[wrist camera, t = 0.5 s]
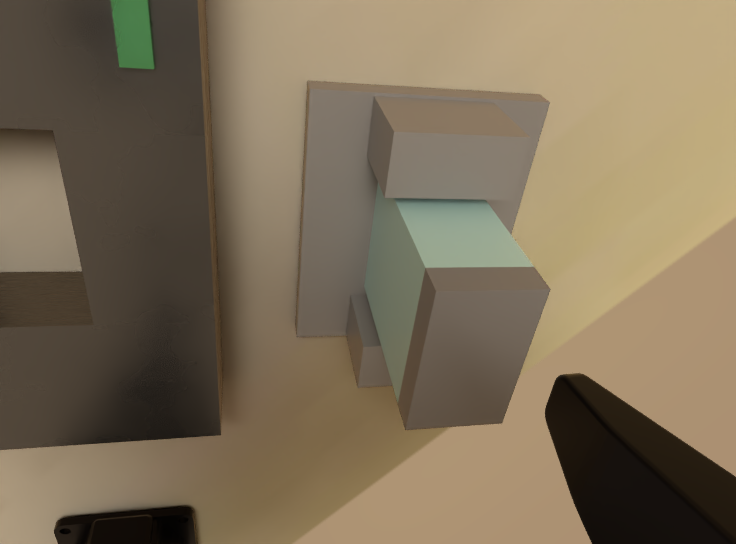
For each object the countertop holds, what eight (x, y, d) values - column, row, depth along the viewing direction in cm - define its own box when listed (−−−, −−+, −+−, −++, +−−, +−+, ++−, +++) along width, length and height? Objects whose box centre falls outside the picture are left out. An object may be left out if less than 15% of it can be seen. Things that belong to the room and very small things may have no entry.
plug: (438, 285, 23) (501, 423, 17) (364, 286, 22) (405, 430, 16) (463, 169, 20) (550, 289, 14) (380, 166, 19) (436, 291, 14)
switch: (223, 379, 25) (220, 439, 22) (-95, 394, 22) (-139, 463, 20) (199, -124, 14) (190, -123, 12) (-392, -201, 12) (-563, -219, 9)
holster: (476, 319, 25) (508, 381, 22) (295, 324, 24) (302, 392, 20) (539, 94, 20) (594, 136, 17) (307, 81, 18) (320, 124, 15)
